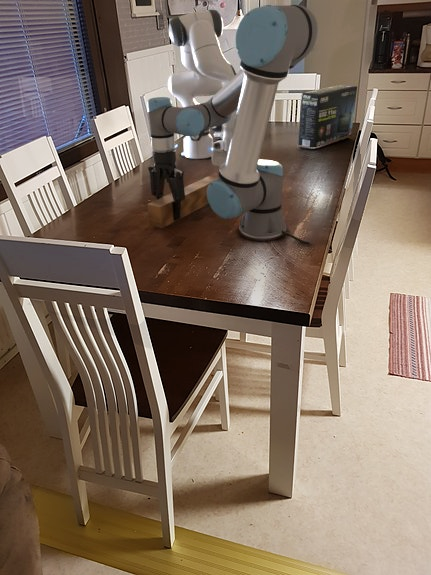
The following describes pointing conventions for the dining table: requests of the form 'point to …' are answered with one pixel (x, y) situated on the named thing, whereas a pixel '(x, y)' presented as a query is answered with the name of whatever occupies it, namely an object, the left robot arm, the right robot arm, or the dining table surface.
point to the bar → (193, 201)
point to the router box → (326, 115)
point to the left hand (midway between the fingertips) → (234, 179)
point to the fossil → (218, 135)
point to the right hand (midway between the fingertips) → (170, 217)
